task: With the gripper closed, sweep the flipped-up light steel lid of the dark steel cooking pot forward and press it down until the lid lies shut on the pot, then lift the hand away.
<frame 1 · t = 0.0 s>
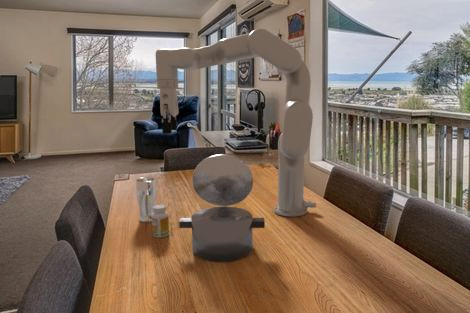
hand: (169, 131, 138), 31 cm above the table, tool pointing down, fingers open, 9 cm apart
cooker lid: (222, 179, 116), point 19 cm above the table, hinge at 70.0°
cooking pot: (222, 247, 112), on the table
supplement bottle: (160, 235, 122), on the table
beer glass: (147, 219, 136), on the table
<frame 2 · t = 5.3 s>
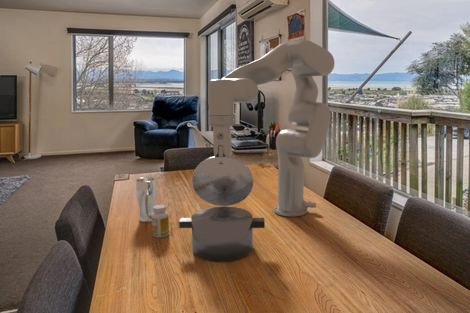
hand: (222, 179, 116), 19 cm above the table, tool pointing down, fingers closed
cooker lid: (222, 179, 115), point 19 cm above the table, hinge at 67.7°, touching gripper
everything else where it was.
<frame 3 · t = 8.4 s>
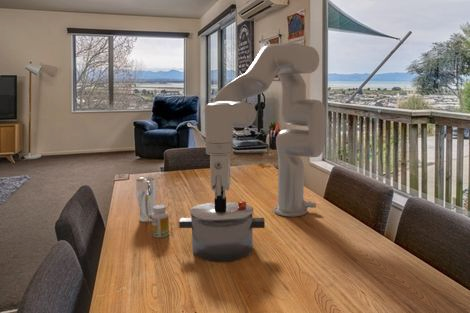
hand: (220, 210, 106), 13 cm above the table, tool pointing down, fingers closed
cooker lid: (221, 207, 110), point 13 cm above the table, hinge at 6.4°, touching gripper
everything else where it was.
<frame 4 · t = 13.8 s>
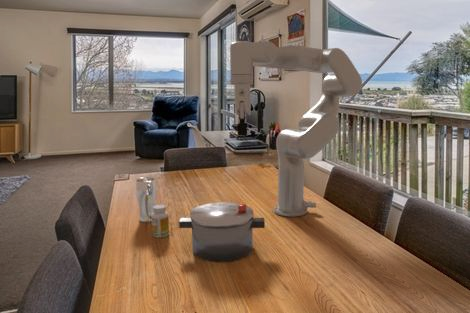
hand: (242, 135, 127), 31 cm above the table, tool pointing down, fingers closed
cooker lid: (221, 210, 110), point 12 cm above the table, hinge at 0.6°
everything else where it was.
at the end: cooker lid at +1° (first picture: +70°); supplement bottle moved 0.2 cm from its start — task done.
